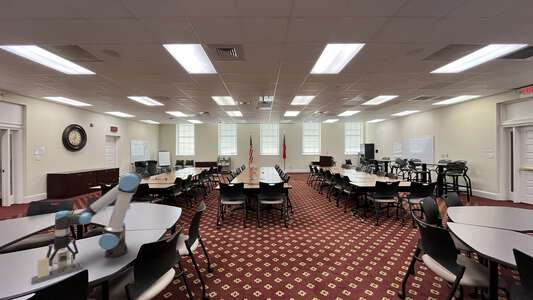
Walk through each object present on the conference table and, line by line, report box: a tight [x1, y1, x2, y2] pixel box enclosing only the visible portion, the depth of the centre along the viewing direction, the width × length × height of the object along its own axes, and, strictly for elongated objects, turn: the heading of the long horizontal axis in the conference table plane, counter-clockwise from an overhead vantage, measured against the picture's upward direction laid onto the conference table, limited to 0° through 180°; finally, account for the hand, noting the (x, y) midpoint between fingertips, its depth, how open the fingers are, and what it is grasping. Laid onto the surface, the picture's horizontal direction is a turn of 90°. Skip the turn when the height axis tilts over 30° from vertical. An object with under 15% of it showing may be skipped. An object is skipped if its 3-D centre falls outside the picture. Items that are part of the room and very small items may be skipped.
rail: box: [31, 257, 84, 285], centre depth 148 cm, size 24×6×12 cm, turn 138°
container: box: [49, 246, 71, 264], centre depth 165 cm, size 8×8×13 cm
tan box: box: [57, 251, 68, 270], centre depth 156 cm, size 6×4×10 cm, turn 48°
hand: (62, 267), depth 156 cm, fingers open, 9 cm apart
